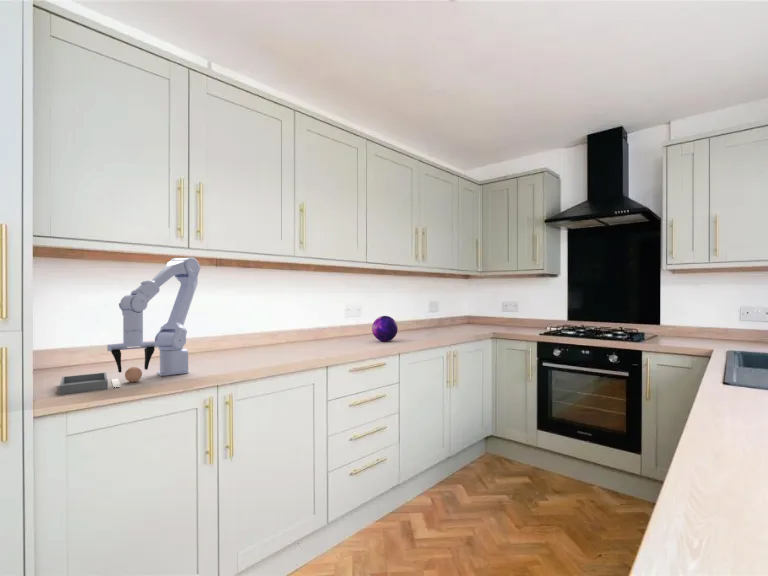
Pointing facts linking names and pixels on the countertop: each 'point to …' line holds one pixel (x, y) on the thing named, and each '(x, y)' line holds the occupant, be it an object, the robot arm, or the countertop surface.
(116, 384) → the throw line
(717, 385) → the countertop surface
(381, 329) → the decorative orb
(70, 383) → the tray
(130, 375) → the ball
